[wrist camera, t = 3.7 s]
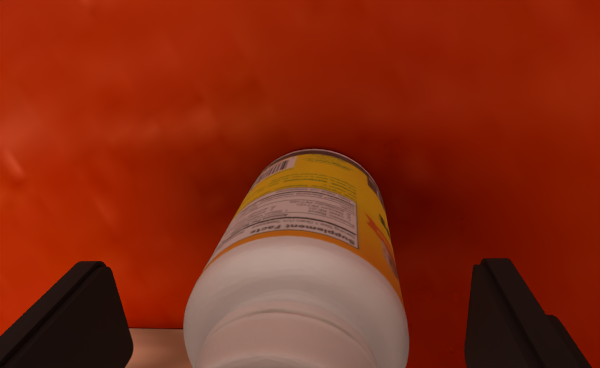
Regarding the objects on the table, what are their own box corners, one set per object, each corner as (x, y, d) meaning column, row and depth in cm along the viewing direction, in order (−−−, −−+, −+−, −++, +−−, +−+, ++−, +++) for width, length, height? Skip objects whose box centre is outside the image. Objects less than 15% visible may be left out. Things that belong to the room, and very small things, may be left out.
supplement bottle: (366, 276, 18) (384, 555, 9) (243, 250, 18) (132, 495, 9) (400, 158, 16) (473, 362, 7) (260, 130, 16) (138, 288, 7)
